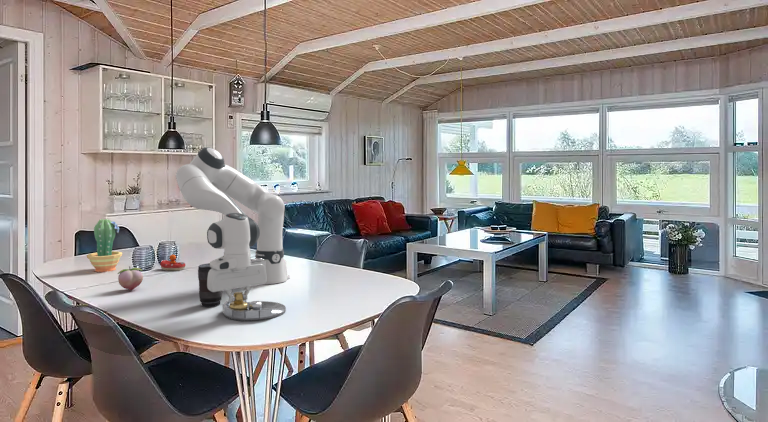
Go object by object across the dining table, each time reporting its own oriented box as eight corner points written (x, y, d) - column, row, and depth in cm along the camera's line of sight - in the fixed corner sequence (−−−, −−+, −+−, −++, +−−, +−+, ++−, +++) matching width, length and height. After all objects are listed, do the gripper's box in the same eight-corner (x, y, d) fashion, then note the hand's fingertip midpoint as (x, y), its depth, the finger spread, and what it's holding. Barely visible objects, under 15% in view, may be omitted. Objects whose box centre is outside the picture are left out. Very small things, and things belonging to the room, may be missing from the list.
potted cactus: (112, 273, 242) (110, 221, 240) (80, 273, 243) (77, 220, 240) (129, 266, 258) (127, 217, 256) (98, 266, 258) (96, 217, 256)
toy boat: (166, 267, 257) (165, 252, 256) (187, 268, 255) (187, 253, 255) (157, 270, 249) (157, 255, 249) (179, 271, 248) (179, 256, 247)
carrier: (213, 310, 182) (212, 301, 181) (268, 300, 195) (268, 291, 195) (238, 325, 165) (237, 315, 164) (297, 313, 178) (297, 304, 178)
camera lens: (202, 302, 193) (201, 262, 192) (224, 301, 194) (223, 262, 192) (196, 308, 185) (195, 267, 184) (219, 307, 186) (218, 266, 184)
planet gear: (226, 308, 177) (226, 292, 176) (243, 305, 180) (243, 290, 180) (233, 312, 172) (233, 296, 171) (250, 309, 176) (250, 293, 175)
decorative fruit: (138, 286, 217) (137, 263, 216) (146, 290, 211) (145, 266, 210) (114, 290, 210) (113, 266, 209) (121, 293, 204) (120, 269, 204)
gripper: (261, 256, 184) (262, 294, 185) (204, 262, 171) (205, 303, 172) (269, 258, 179) (270, 297, 180) (211, 265, 166) (212, 307, 167)
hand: (238, 300), depth 176 cm, fingers closed on planet gear, 3 cm apart
